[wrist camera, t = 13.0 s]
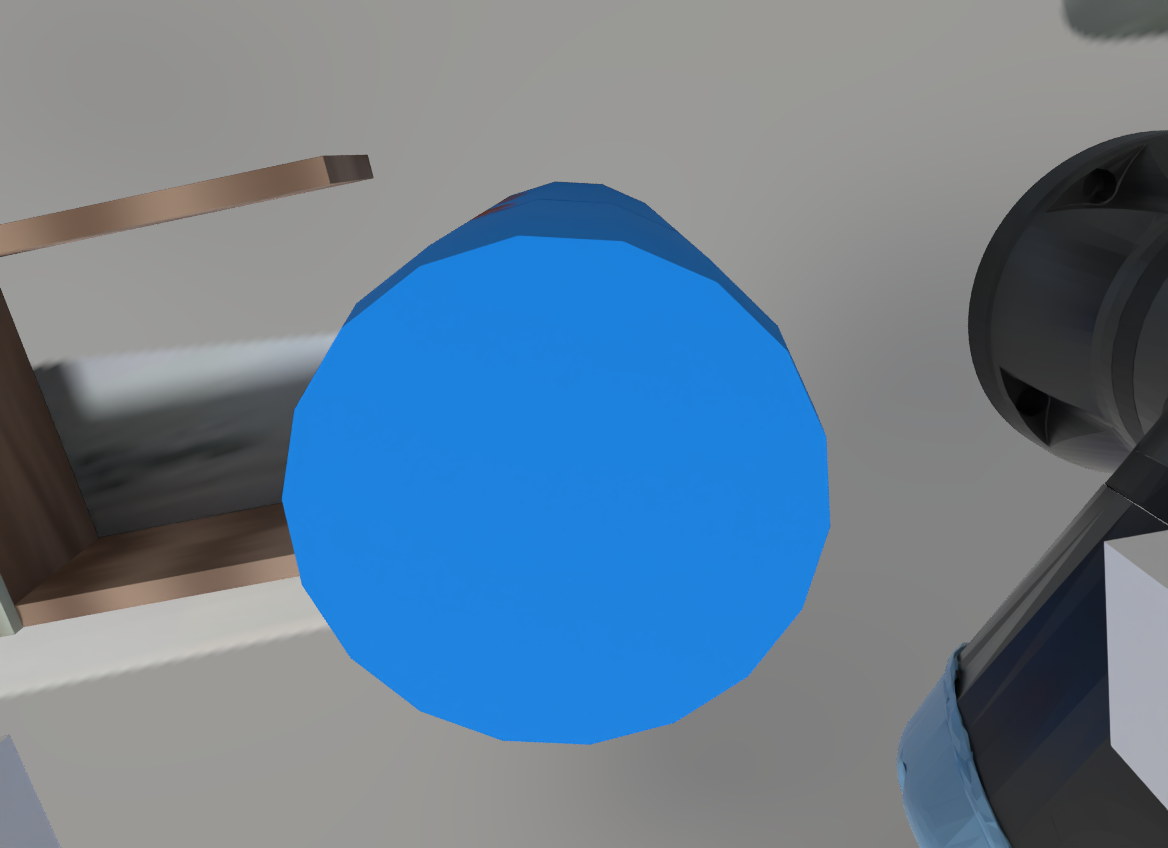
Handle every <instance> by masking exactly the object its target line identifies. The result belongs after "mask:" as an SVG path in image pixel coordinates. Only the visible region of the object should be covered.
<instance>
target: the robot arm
mask: <svg viewBox="0 0 1168 848" xmlns="http://www.w3.org/2000/svg"><path fill="white" fill-rule="evenodd" d="M968 333H969V344H970V351H971V356H972V360H973V364H974V367H975V370H976V374H977V376H978V379H979V381H980V384H981V386H982V388H983V390H984V392H985V393H986V395H987V397H988V398H989V400H990V401H991V403H992V405H993V406H994V407H995V409H996V410H997V411H998V413H999V414H1000V415H1001V416H1002V417H1003V418H1004V419H1005V420H1006V421H1007V422H1008V423H1009V424H1010V425H1011V426H1012V427H1013V428H1014V429H1016V430H1017V431H1018V432H1019V433H1021V434H1022V435H1024V436H1025V437H1027V438H1028V439H1030V440H1031V441H1033V442H1034V443H1036V444H1037V445H1039V446H1040V447H1042V448H1044V449H1045V450H1047V451H1048V452H1050V453H1052V454H1053V455H1055V456H1057V457H1059V458H1061V459H1063V460H1066V461H1068V462H1070V463H1073V464H1076V465H1079V466H1082V467H1085V468H1088V469H1092V470H1095V471H1100V472H1106V473H1112V474H1113V475H1112V476H1111V477H1110V478H1109V479H1108V480H1107V482H1105V484H1106V485H1107V486H1106V485H1104V484H1103V485H1102V486H1101V487H1100V489H1099V490H1098V491H1097V492H1096V493H1095V495H1094V496H1093V497H1092V498H1091V499H1090V500H1089V502H1088V503H1087V504H1086V505H1085V506H1084V508H1083V509H1082V510H1081V511H1080V512H1079V514H1078V515H1077V516H1076V517H1075V518H1074V519H1073V521H1072V522H1071V523H1070V524H1069V525H1068V526H1067V528H1066V529H1065V530H1064V531H1063V532H1062V534H1061V535H1060V536H1059V537H1058V538H1057V540H1056V541H1055V542H1054V543H1053V545H1052V546H1051V547H1050V548H1049V549H1048V550H1047V551H1046V553H1045V554H1044V555H1043V556H1042V557H1041V558H1040V560H1039V561H1038V562H1037V563H1036V564H1035V566H1034V567H1033V568H1032V569H1031V570H1030V572H1029V573H1028V574H1027V575H1026V577H1025V578H1024V579H1023V580H1022V581H1021V582H1020V584H1019V585H1018V586H1017V587H1016V588H1015V590H1014V591H1013V592H1012V593H1011V594H1010V595H1009V596H1008V598H1007V599H1006V600H1005V601H1004V602H1003V604H1002V605H1001V606H1000V607H999V608H998V610H997V611H996V612H995V613H994V614H993V616H992V617H991V618H990V619H989V620H988V621H987V623H986V624H985V625H984V626H983V627H982V629H981V630H980V631H979V632H978V633H977V634H976V636H975V637H974V638H973V639H972V640H971V642H970V643H963V644H961V645H960V646H959V647H958V648H957V649H956V650H955V651H954V652H953V654H952V655H951V657H950V658H949V660H948V663H947V666H946V670H945V673H944V674H943V676H942V677H941V678H940V680H939V681H938V682H937V684H936V685H935V687H934V688H933V689H932V691H931V692H930V693H929V695H928V696H927V698H926V699H925V700H924V702H923V703H922V704H921V706H920V707H919V708H918V710H917V711H916V712H915V714H914V715H913V716H912V718H911V719H910V721H909V722H908V723H907V725H906V727H905V729H904V731H903V733H902V736H901V739H900V743H899V747H898V755H897V769H898V781H899V785H900V788H901V790H902V793H903V794H902V799H903V805H904V809H905V813H906V816H907V818H908V821H909V824H910V827H911V829H912V831H913V834H914V836H915V839H916V841H917V843H918V845H919V847H920V848H1168V525H1166V524H1164V523H1163V522H1162V521H1164V522H1166V523H1167V524H1168V130H1167V131H1166V130H1165V131H1149V132H1140V133H1135V134H1130V135H1125V136H1122V137H1118V138H1114V139H1111V140H1108V141H1105V142H1102V143H1100V144H1097V145H1095V146H1093V147H1090V148H1088V149H1086V150H1084V151H1082V152H1080V153H1078V154H1076V155H1075V156H1073V157H1071V158H1069V159H1068V160H1066V161H1065V162H1063V163H1061V164H1060V165H1058V166H1057V167H1055V168H1054V169H1053V170H1051V171H1050V172H1049V173H1047V174H1046V175H1045V176H1044V177H1042V178H1041V179H1040V180H1039V181H1038V182H1037V183H1035V184H1034V185H1033V186H1032V187H1031V188H1030V189H1029V190H1028V191H1027V192H1026V193H1025V194H1024V195H1023V196H1022V197H1021V198H1020V199H1019V201H1018V202H1017V203H1016V204H1015V205H1014V206H1013V207H1012V209H1011V210H1010V211H1009V213H1008V214H1007V215H1006V217H1005V218H1004V219H1003V221H1002V223H1001V224H1000V225H999V227H998V229H997V230H996V232H995V233H994V235H993V237H992V239H991V241H990V242H989V244H988V246H987V248H986V250H985V253H984V255H983V257H982V260H981V262H980V265H979V267H978V270H977V273H976V277H975V280H974V284H973V288H972V293H971V299H970V305H969V316H968ZM1113 490H1114V491H1113ZM1116 492H1117V493H1116ZM1118 493H1119V494H1118ZM1121 495H1122V496H1121ZM1123 496H1124V497H1126V498H1127V499H1129V500H1131V501H1132V502H1134V503H1136V504H1137V505H1139V506H1141V507H1142V508H1144V509H1145V510H1147V511H1148V512H1150V513H1151V514H1153V515H1154V516H1156V517H1157V518H1159V519H1161V520H1162V521H1160V520H1158V519H1157V518H1155V517H1154V516H1152V515H1150V514H1149V513H1148V512H1146V511H1144V510H1143V509H1141V508H1140V507H1138V506H1137V505H1135V504H1134V503H1132V502H1130V501H1129V500H1127V499H1126V498H1124V497H1123ZM0 848H61V847H60V845H59V843H58V840H57V838H56V836H55V834H54V832H53V829H52V828H51V825H50V823H49V821H48V818H47V816H46V814H45V812H44V810H43V807H42V805H41V803H40V801H39V799H38V797H37V794H36V792H35V790H34V788H33V785H32V783H31V781H30V779H29V777H28V774H27V772H26V770H25V768H24V766H23V764H22V761H21V759H20V757H19V755H18V752H17V750H16V748H15V746H14V744H13V741H12V739H11V737H10V735H5V736H0Z"/></svg>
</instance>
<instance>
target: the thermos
mask: <svg viewBox="0 0 1168 848" xmlns="http://www.w3.org/2000/svg"><path fill="white" fill-rule="evenodd" d="M282 503H283V507H284V511H285V515H286V519H287V524H288V528H289V532H290V536H291V540H292V545H293V549H294V553H295V557H296V561H297V566H298V570H299V574H300V578H301V582H302V586H303V587H304V589H305V590H306V592H307V593H308V595H309V596H310V598H311V599H312V601H313V602H314V604H315V605H316V607H317V608H318V610H319V611H320V613H321V614H322V616H323V617H324V619H325V620H326V622H327V623H328V625H329V626H330V628H331V629H332V631H333V632H334V634H335V635H336V637H337V638H338V640H339V641H340V643H341V644H342V646H343V647H344V648H345V650H346V652H347V653H348V655H349V656H350V658H351V659H353V660H354V661H356V662H357V663H358V664H359V665H361V666H362V667H364V668H365V669H366V670H367V671H368V672H370V673H371V674H372V675H374V676H375V677H376V678H378V679H379V680H380V681H381V682H383V683H384V684H386V685H387V686H388V687H389V688H391V689H392V690H393V691H395V692H396V693H397V694H398V695H400V696H401V697H402V698H404V699H405V700H406V701H408V702H409V703H410V704H411V705H413V706H414V707H416V708H417V709H418V710H419V711H421V712H424V713H427V714H430V715H433V716H435V717H438V718H441V719H444V720H446V721H449V722H452V723H455V724H458V725H460V726H463V727H466V728H469V729H472V730H474V731H477V732H480V733H483V734H485V735H488V736H491V737H494V738H497V739H499V740H502V741H522V742H546V743H566V744H568V743H569V744H589V745H590V744H594V743H598V742H601V741H605V740H609V739H613V738H617V737H621V736H625V735H629V734H633V733H637V732H641V731H644V730H648V729H652V728H656V727H659V726H664V725H668V724H671V723H675V722H676V721H678V720H680V719H681V718H683V717H684V716H686V715H687V714H689V713H691V712H692V711H694V710H695V709H697V708H698V707H700V706H702V705H703V704H705V703H707V702H708V701H710V700H711V699H713V698H714V697H716V696H718V695H719V694H721V693H722V692H724V691H726V690H727V689H728V688H730V687H732V686H733V685H735V684H737V683H738V682H740V681H741V680H743V679H744V678H746V677H748V676H749V674H750V673H751V672H752V671H753V669H754V668H755V667H756V666H757V664H758V663H759V662H760V661H761V659H762V658H763V657H764V656H765V655H766V653H767V652H768V651H769V650H770V648H771V647H772V646H773V644H774V643H775V642H776V641H777V640H778V638H779V637H780V636H781V635H782V634H783V632H784V631H785V629H786V628H787V627H788V626H789V625H790V624H791V622H792V621H793V620H794V619H795V617H796V616H797V615H798V614H799V612H800V611H801V610H802V608H803V605H804V602H805V599H806V596H807V593H808V590H809V587H810V585H811V582H812V578H813V576H814V572H815V570H816V567H817V564H818V561H819V558H820V555H821V552H822V549H823V546H824V543H825V540H826V537H827V535H828V531H829V529H830V510H829V487H828V466H827V442H826V435H825V432H824V430H823V428H822V425H821V423H820V420H819V418H818V415H817V413H816V411H815V408H814V406H813V404H812V401H811V399H810V397H809V395H808V392H807V391H806V388H805V386H804V384H803V381H802V379H801V377H800V375H799V373H798V370H797V368H796V366H795V364H794V361H793V359H792V357H791V355H790V352H789V350H788V348H787V346H786V343H785V341H784V339H783V337H782V335H781V332H780V330H779V328H778V326H777V325H776V324H775V323H774V322H773V321H772V320H771V319H770V318H769V317H768V316H767V315H766V314H765V313H764V312H763V311H762V310H761V309H760V308H759V307H758V306H756V304H755V303H754V302H753V301H752V300H751V299H750V298H749V297H748V296H746V294H745V293H744V292H743V291H742V290H740V289H739V288H738V287H737V286H736V285H735V284H734V283H733V282H732V281H731V280H730V279H729V278H728V277H727V276H726V275H725V274H724V273H723V272H722V271H721V270H720V269H719V268H718V267H717V266H716V265H715V264H714V263H713V262H712V261H711V260H710V259H709V258H708V257H706V256H705V255H704V254H703V253H702V252H701V251H699V250H698V249H697V248H696V247H695V246H694V245H693V244H691V243H690V242H689V241H688V240H687V239H685V238H684V237H683V236H682V235H681V234H680V233H679V232H678V231H677V230H675V229H674V228H673V227H672V226H671V225H670V224H668V223H667V222H666V221H665V220H664V219H663V218H662V217H660V216H659V215H658V214H657V213H656V212H655V211H654V210H652V209H651V208H650V207H649V206H648V205H646V204H645V203H643V202H641V201H639V200H637V199H634V198H632V197H630V196H628V195H625V194H623V193H621V192H619V191H616V190H614V189H612V188H609V187H607V186H605V185H603V184H588V183H569V182H552V183H549V184H546V185H543V186H540V187H537V188H534V189H530V190H527V191H524V192H521V193H518V194H515V195H511V196H509V197H508V198H506V199H504V200H503V201H501V202H499V203H498V204H496V205H495V206H493V207H491V208H490V209H488V210H486V211H485V212H483V213H482V214H480V215H478V216H477V217H475V218H473V219H472V220H470V221H469V222H467V223H465V224H464V225H462V226H460V227H459V228H457V229H455V230H454V231H452V232H451V233H449V234H447V235H446V236H444V237H443V238H441V239H439V240H438V241H436V242H435V243H433V244H431V245H430V246H428V247H427V248H426V249H425V250H423V251H422V252H421V253H419V254H418V255H417V256H416V257H415V258H413V259H412V260H411V261H409V262H408V263H407V264H406V265H404V266H403V267H402V268H401V269H399V270H398V271H397V272H396V273H394V274H393V275H392V276H391V277H389V278H388V279H387V280H385V281H384V282H383V283H382V284H380V285H379V286H378V287H377V288H375V289H374V290H373V291H372V292H370V293H369V294H368V295H367V296H365V297H364V298H363V299H362V300H360V301H359V302H358V303H356V305H355V307H354V308H353V310H352V312H351V313H350V315H349V317H348V318H347V320H346V322H345V323H344V325H343V327H342V328H341V330H340V332H339V333H338V335H337V337H336V339H335V340H334V342H333V344H332V346H331V347H330V349H329V351H328V352H327V354H326V356H325V358H324V359H323V361H322V363H321V365H320V366H319V368H318V370H317V372H316V373H315V375H314V377H313V378H312V380H311V382H310V384H309V385H308V387H307V389H306V391H305V392H304V394H303V396H302V397H301V399H300V401H299V403H298V404H297V406H296V408H295V410H294V416H293V423H292V430H291V438H290V445H289V452H288V459H287V466H286V473H285V480H284V487H283V494H282Z"/></svg>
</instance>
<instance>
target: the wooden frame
mask: <svg viewBox="0 0 1168 848" xmlns="http://www.w3.org/2000/svg"><path fill="white" fill-rule="evenodd" d="M372 178H373V174H372V170H371V166H370V162H369V158H368V155H340V156H320V157H315V158H310V159H306V160H301V161H296V162H292V163H287V164H282V165H277V166H273V167H268V168H263V169H259V170H254V171H249V172H245V173H240V174H235V175H231V176H226V177H221V178H217V179H212V180H207V181H203V182H198V183H193V184H189V185H184V186H179V187H174V188H170V189H165V190H160V191H156V192H151V193H146V194H142V195H137V196H132V197H128V198H123V199H118V200H114V201H109V202H104V203H99V204H95V205H90V206H85V207H81V208H76V209H72V210H66V211H62V212H57V213H53V214H48V215H43V216H38V217H34V218H29V219H24V220H20V221H15V222H10V223H6V224H1V225H0V257H2V256H7V255H12V254H17V253H21V252H26V251H31V250H35V249H40V248H45V247H50V246H54V245H59V244H64V243H69V242H73V241H78V240H83V239H87V238H92V237H97V236H102V235H107V234H111V233H116V232H121V231H125V230H130V229H135V228H140V227H144V226H149V225H154V224H159V223H163V222H168V221H173V220H178V219H182V218H187V217H192V216H197V215H201V214H206V213H210V212H215V211H220V210H225V209H230V208H235V207H239V206H244V205H249V204H253V203H258V202H263V201H268V200H272V199H277V198H282V197H287V196H291V195H296V194H301V193H306V192H310V191H315V190H320V189H325V188H329V187H334V186H339V185H343V184H348V183H353V182H358V181H362V180H367V179H372ZM296 576H300V574H299V570H298V566H297V561H296V557H295V553H294V549H293V545H292V540H291V536H290V532H289V528H288V524H287V519H286V515H285V511H284V507H283V503H279V504H274V505H269V506H263V507H258V508H253V509H248V510H242V511H237V512H232V513H227V514H221V515H216V516H211V517H206V518H200V519H195V520H190V521H185V522H179V523H174V524H169V525H164V526H158V527H153V528H148V529H143V530H137V531H132V532H127V533H122V534H116V535H111V536H106V537H101V538H98V535H97V533H96V530H95V527H94V525H93V522H92V520H91V517H90V515H89V512H88V510H87V507H86V505H85V502H84V499H83V497H82V494H81V492H80V489H79V487H78V484H77V482H76V479H75V477H74V474H73V472H72V469H71V466H70V464H69V461H68V459H67V456H66V454H65V451H64V449H63V446H62V444H61V441H60V438H59V436H58V433H57V431H56V428H55V426H54V423H53V421H52V418H51V416H50V413H49V410H48V408H47V405H46V403H45V400H44V398H43V395H42V393H41V390H40V388H39V385H38V383H37V380H36V377H35V375H34V372H33V370H32V367H31V365H30V362H29V360H28V357H27V355H26V352H25V349H24V347H23V344H22V342H21V339H20V337H19V334H18V332H17V329H16V327H15V324H14V322H13V319H12V317H11V314H10V311H9V309H8V306H7V304H6V301H5V299H4V296H3V293H2V291H1V288H0V637H3V636H9V635H14V634H16V633H17V632H18V631H19V630H20V629H22V628H23V627H26V626H32V625H37V624H42V623H48V622H53V621H59V620H64V619H69V618H75V617H80V616H86V615H91V614H96V613H102V612H107V611H113V610H118V609H123V608H129V607H134V606H140V605H145V604H150V603H156V602H161V601H167V600H172V599H177V598H183V597H188V596H194V595H199V594H204V593H210V592H215V591H221V590H226V589H231V588H237V587H242V586H248V585H253V584H258V583H264V582H269V581H275V580H280V579H285V578H291V577H296Z"/></svg>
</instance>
